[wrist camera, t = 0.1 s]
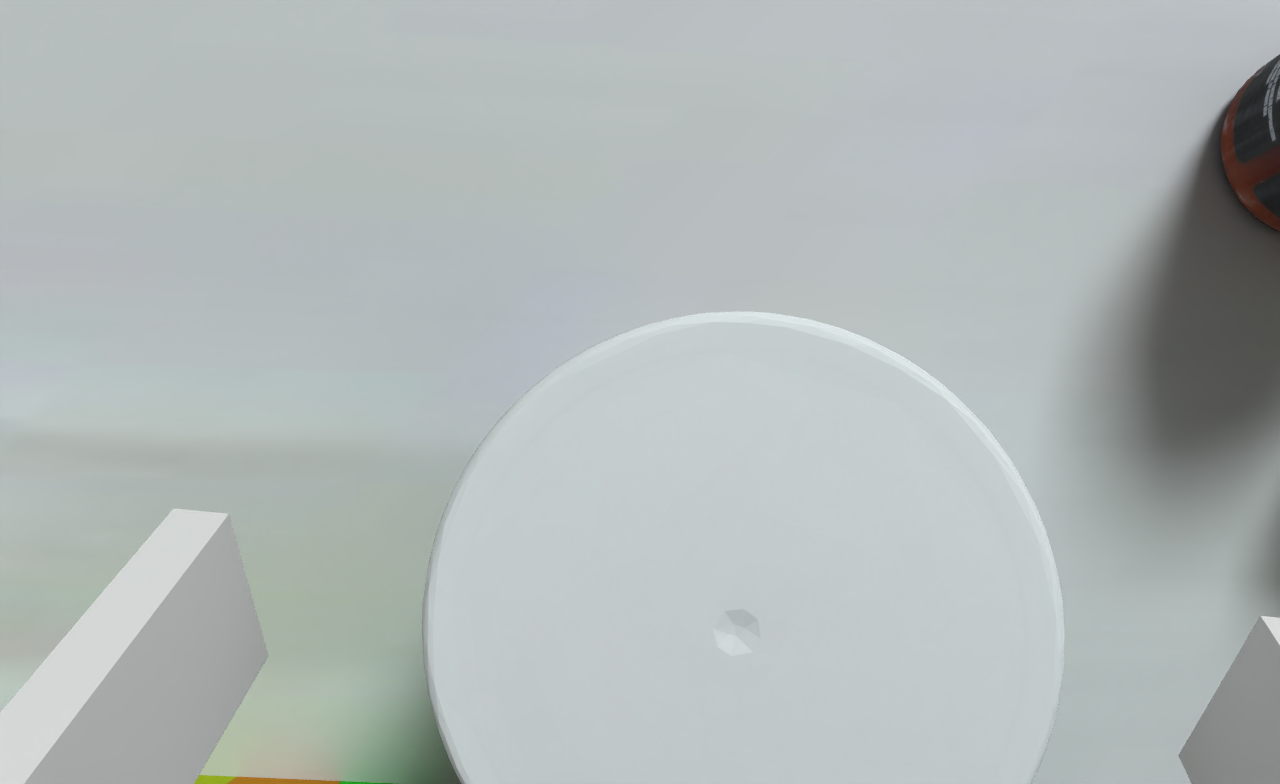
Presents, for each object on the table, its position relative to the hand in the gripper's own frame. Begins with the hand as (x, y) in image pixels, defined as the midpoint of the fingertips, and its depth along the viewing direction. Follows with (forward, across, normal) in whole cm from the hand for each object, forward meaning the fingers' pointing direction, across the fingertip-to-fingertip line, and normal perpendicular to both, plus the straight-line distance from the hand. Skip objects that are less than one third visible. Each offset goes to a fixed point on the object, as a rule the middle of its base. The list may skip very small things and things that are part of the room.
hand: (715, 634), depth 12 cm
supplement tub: (+13, 0, +9) cm, 16 cm away
